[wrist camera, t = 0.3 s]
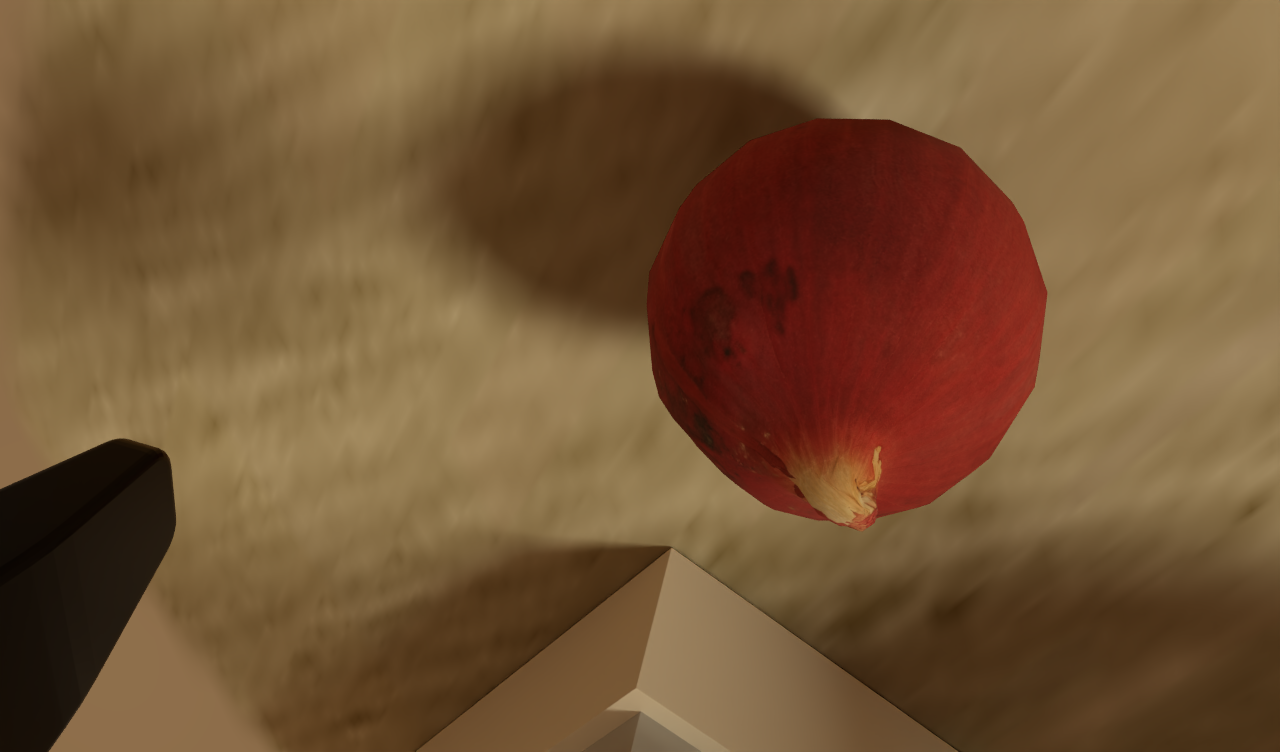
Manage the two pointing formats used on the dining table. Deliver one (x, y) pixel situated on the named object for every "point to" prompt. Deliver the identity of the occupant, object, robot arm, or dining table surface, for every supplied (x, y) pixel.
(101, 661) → the robot arm
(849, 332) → the onion
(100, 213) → the dining table surface
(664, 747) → the display pedestal
